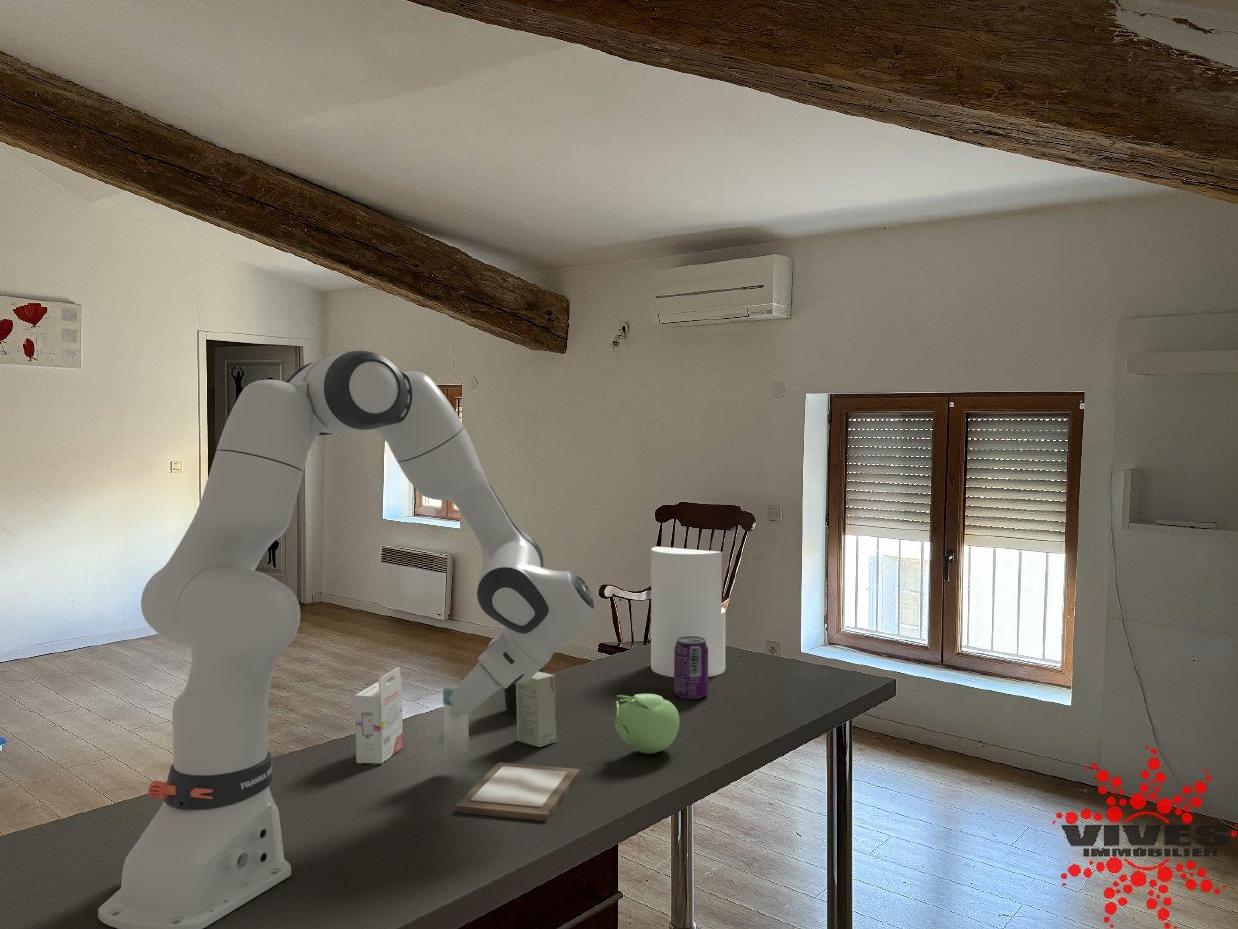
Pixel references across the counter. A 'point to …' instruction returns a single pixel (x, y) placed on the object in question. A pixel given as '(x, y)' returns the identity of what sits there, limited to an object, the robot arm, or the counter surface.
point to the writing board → (519, 791)
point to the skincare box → (536, 710)
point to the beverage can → (691, 667)
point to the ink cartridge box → (379, 719)
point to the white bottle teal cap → (454, 727)
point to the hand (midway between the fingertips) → (459, 710)
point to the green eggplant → (647, 722)
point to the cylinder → (686, 605)
